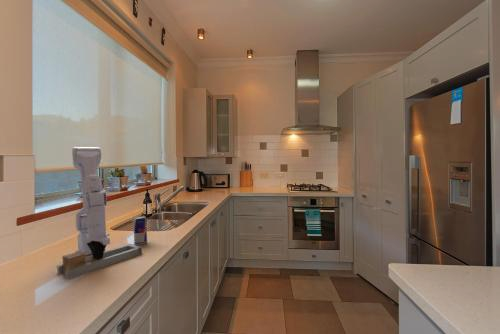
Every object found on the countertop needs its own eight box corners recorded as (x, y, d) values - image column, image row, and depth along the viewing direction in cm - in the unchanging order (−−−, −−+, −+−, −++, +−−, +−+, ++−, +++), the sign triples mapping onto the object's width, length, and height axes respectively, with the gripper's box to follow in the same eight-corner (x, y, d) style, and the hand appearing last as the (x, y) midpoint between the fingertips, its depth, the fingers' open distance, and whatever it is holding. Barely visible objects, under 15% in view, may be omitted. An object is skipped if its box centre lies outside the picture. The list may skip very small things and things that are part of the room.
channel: (57, 272, 87) (57, 265, 87) (130, 249, 108) (130, 243, 108) (67, 279, 82) (67, 271, 82) (141, 253, 103) (141, 247, 103)
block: (63, 273, 86) (62, 256, 86) (91, 263, 94) (90, 247, 94) (69, 276, 84) (68, 258, 84) (97, 266, 91) (97, 250, 91)
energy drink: (142, 245, 113) (141, 218, 112) (131, 245, 114) (130, 218, 114) (149, 241, 118) (148, 216, 118) (139, 241, 119) (138, 215, 119)
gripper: (117, 224, 92) (119, 261, 93) (98, 219, 101) (100, 253, 101) (97, 228, 87) (98, 268, 87) (78, 223, 95) (80, 259, 95)
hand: (98, 260), depth 94 cm, fingers closed, pressing on block
